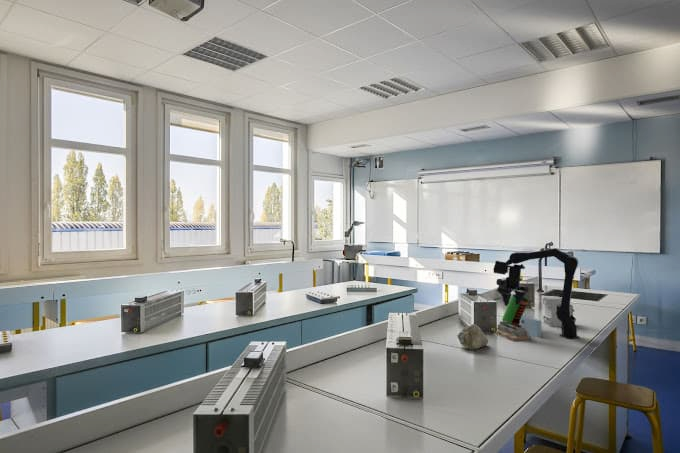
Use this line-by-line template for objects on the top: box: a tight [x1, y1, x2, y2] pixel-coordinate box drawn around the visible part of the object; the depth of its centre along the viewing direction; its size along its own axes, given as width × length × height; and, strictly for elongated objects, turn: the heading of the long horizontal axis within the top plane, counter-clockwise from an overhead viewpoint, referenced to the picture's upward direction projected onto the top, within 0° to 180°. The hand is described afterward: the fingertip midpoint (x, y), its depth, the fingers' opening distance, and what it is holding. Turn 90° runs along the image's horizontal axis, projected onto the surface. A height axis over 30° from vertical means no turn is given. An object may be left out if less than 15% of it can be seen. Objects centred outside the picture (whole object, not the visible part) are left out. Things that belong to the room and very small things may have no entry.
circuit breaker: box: [542, 295, 575, 327], centre depth 224 cm, size 8×14×15 cm, turn 89°
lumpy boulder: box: [456, 323, 489, 350], centre depth 187 cm, size 11×11×15 cm
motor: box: [501, 293, 530, 328], centre depth 221 cm, size 10×9×20 cm
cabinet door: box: [520, 315, 542, 338], centre depth 207 cm, size 12×3×8 cm, turn 12°
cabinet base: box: [496, 320, 532, 341], centre depth 205 cm, size 20×10×6 cm, turn 12°
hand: (511, 305), depth 213 cm, fingers open, 9 cm apart
